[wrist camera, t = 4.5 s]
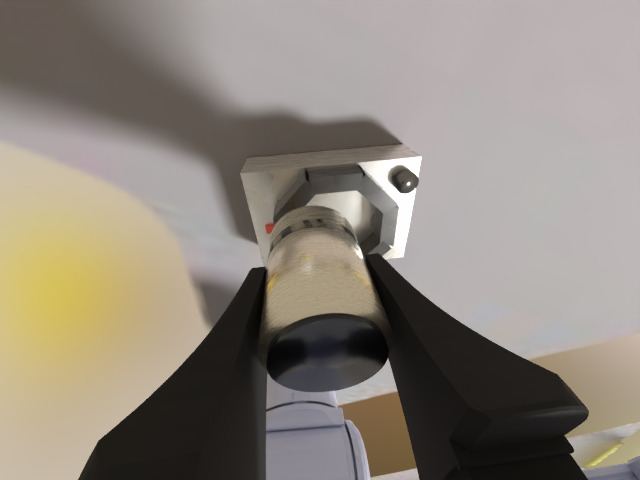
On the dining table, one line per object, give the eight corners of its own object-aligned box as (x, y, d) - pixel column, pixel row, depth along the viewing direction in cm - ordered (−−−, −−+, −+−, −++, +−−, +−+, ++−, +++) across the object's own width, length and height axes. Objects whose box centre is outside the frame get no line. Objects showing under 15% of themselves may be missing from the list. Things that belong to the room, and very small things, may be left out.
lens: (357, 266, 14) (397, 382, 9) (282, 280, 14) (277, 405, 9) (350, 197, 12) (400, 304, 6) (258, 215, 12) (233, 336, 6)
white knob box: (390, 235, 22) (410, 269, 19) (268, 248, 22) (264, 286, 18) (403, 143, 17) (433, 164, 14) (247, 157, 17) (235, 183, 13)
